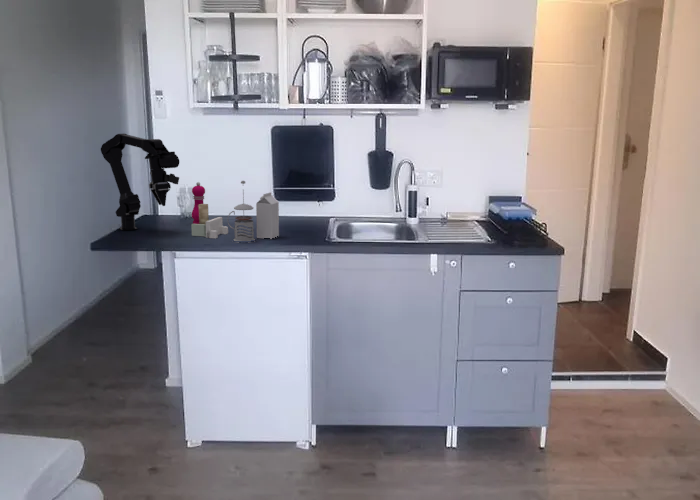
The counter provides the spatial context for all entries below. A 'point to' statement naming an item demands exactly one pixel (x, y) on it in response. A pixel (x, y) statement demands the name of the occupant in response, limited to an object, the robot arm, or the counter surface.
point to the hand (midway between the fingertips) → (162, 205)
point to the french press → (247, 223)
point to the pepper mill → (197, 201)
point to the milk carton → (267, 217)
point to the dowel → (203, 213)
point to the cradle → (198, 230)
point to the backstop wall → (215, 228)
